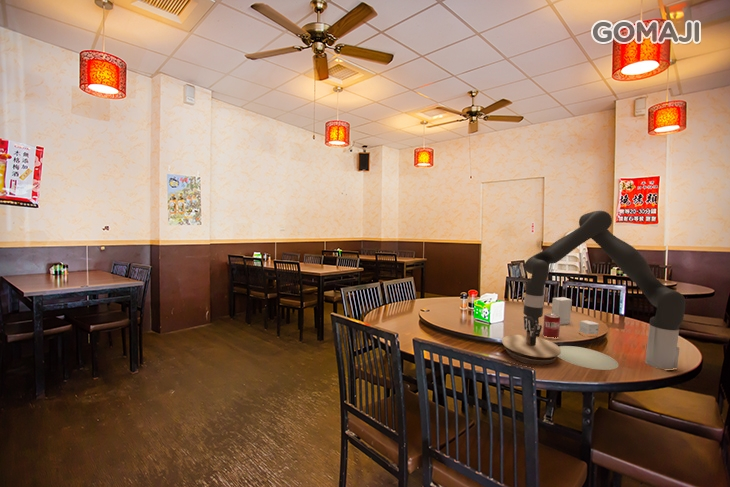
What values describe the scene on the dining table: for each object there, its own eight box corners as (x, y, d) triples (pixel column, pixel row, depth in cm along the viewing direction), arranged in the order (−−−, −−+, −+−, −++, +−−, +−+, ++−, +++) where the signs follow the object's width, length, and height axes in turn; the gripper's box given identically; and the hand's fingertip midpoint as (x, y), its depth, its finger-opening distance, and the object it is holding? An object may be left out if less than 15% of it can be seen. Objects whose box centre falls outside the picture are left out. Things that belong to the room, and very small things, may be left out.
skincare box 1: (562, 321, 198) (564, 296, 197) (570, 324, 193) (572, 299, 191) (550, 321, 197) (552, 297, 195) (558, 325, 191) (560, 299, 189)
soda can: (561, 341, 166) (562, 318, 165) (545, 340, 167) (546, 316, 166) (555, 336, 173) (557, 313, 172) (540, 335, 174) (542, 312, 173)
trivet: (596, 348, 158) (596, 347, 158) (632, 372, 134) (632, 371, 134) (543, 345, 160) (543, 344, 160) (569, 369, 136) (570, 367, 136)
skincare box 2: (588, 338, 172) (589, 324, 171) (578, 333, 178) (579, 320, 177) (597, 337, 173) (599, 323, 172) (587, 333, 179) (589, 320, 178)
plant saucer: (511, 344, 162) (512, 337, 161) (560, 356, 149) (561, 349, 148) (498, 358, 146) (498, 350, 145) (551, 373, 133) (551, 365, 132)
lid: (545, 337, 157) (546, 325, 157) (571, 359, 134) (572, 345, 134) (495, 335, 159) (496, 323, 158) (512, 355, 136) (513, 341, 136)
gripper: (550, 309, 138) (546, 350, 139) (535, 300, 152) (533, 337, 153) (531, 308, 138) (528, 348, 140) (518, 299, 152) (516, 336, 154)
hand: (530, 342), depth 147 cm, fingers closed on lid, 3 cm apart
